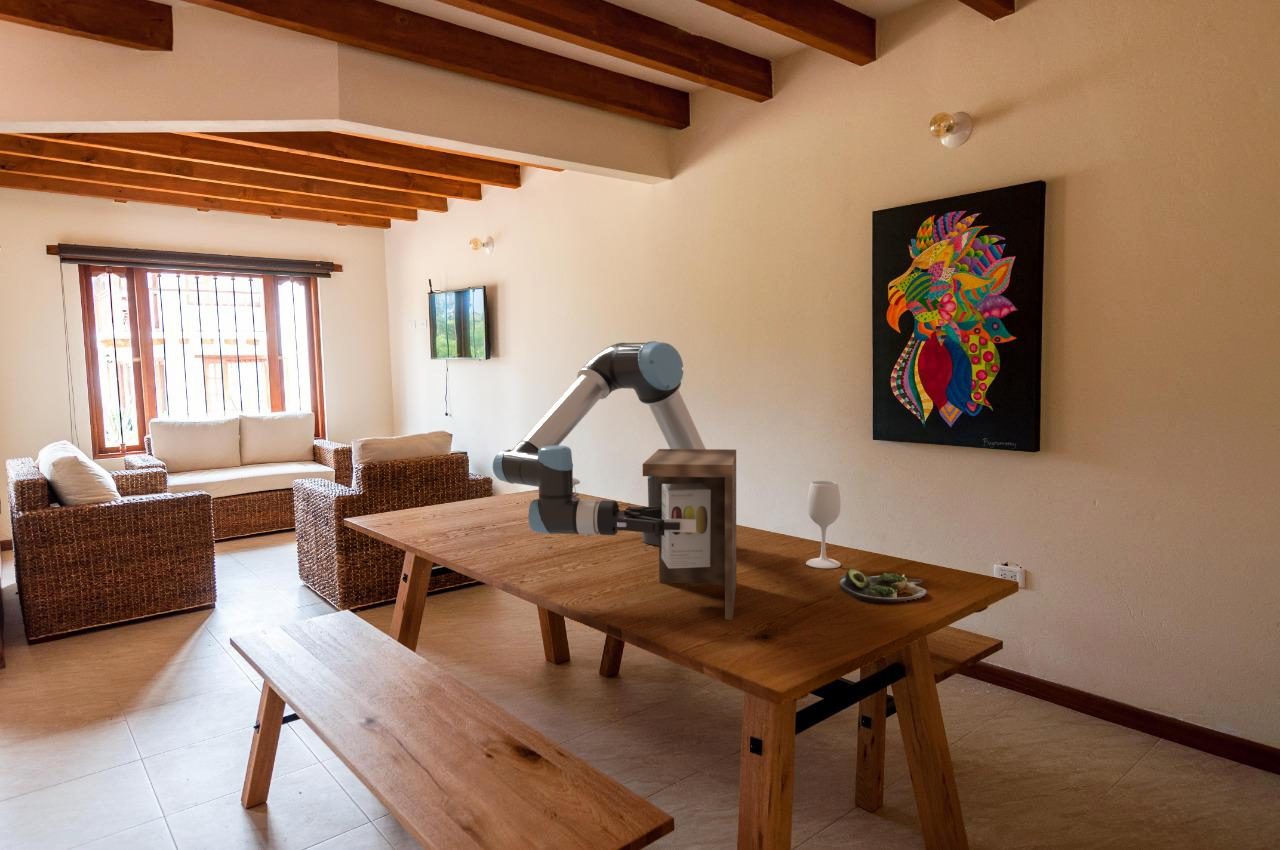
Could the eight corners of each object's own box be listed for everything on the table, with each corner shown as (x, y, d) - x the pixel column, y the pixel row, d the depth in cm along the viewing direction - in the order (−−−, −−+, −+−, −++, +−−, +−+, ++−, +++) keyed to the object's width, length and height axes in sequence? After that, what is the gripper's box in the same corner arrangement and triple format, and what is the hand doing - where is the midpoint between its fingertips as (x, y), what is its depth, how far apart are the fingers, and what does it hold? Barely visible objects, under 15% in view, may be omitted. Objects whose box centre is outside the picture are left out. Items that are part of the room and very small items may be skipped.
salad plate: (902, 578, 186) (903, 559, 186) (948, 600, 169) (948, 579, 168) (828, 584, 182) (828, 565, 181) (867, 607, 164) (867, 586, 164)
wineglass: (841, 569, 193) (842, 485, 191) (806, 568, 194) (806, 485, 193) (840, 560, 201) (840, 480, 199) (805, 559, 203) (806, 479, 201)
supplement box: (667, 569, 164) (666, 490, 162) (660, 558, 173) (659, 483, 171) (712, 567, 165) (711, 488, 164) (702, 556, 174) (702, 481, 173)
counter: (644, 616, 159) (642, 463, 157) (660, 580, 185) (659, 449, 182) (732, 619, 157) (732, 464, 154) (736, 583, 182) (736, 449, 180)
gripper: (609, 523, 183) (702, 525, 180) (587, 547, 160) (693, 550, 156) (609, 491, 182) (702, 493, 179) (587, 511, 159) (693, 513, 156)
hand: (698, 519), depth 168 cm, fingers closed on supplement box, 11 cm apart
